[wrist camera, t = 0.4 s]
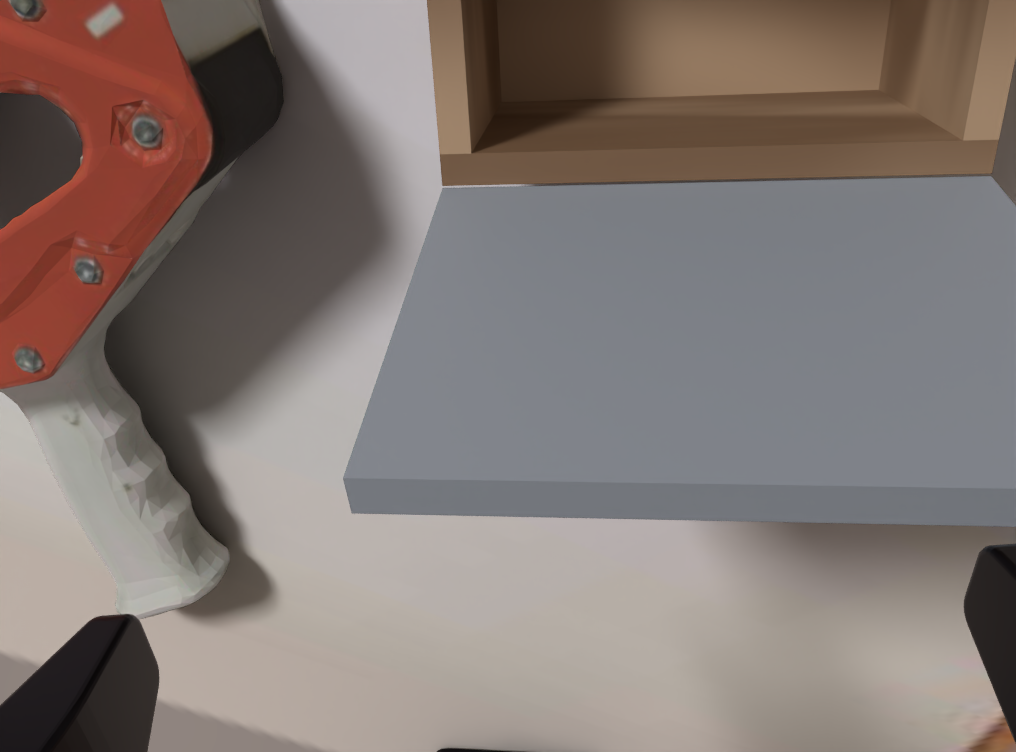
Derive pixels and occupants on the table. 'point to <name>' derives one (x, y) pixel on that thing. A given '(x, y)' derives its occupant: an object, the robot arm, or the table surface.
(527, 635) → the table surface
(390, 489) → the lid
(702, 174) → the box
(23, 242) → the tape dispenser
